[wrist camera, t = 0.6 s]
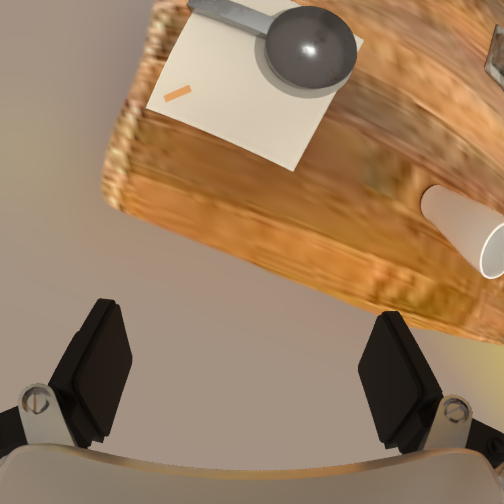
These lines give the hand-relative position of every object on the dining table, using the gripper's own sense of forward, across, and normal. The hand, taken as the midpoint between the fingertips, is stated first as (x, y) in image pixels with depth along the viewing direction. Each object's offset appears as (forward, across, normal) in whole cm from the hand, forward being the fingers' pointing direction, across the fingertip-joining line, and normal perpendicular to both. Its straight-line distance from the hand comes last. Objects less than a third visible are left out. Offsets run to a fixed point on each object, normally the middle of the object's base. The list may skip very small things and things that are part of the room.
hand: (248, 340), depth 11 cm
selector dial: (+26, -1, -16) cm, 30 cm away
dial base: (+28, 0, -12) cm, 30 cm away
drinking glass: (+28, -26, +2) cm, 38 cm away
